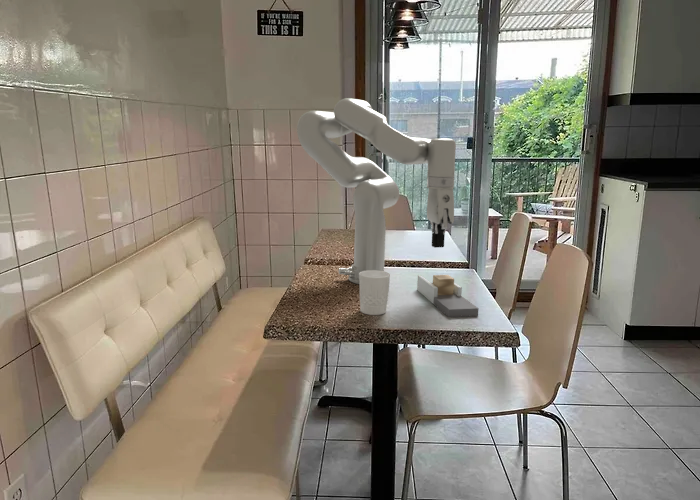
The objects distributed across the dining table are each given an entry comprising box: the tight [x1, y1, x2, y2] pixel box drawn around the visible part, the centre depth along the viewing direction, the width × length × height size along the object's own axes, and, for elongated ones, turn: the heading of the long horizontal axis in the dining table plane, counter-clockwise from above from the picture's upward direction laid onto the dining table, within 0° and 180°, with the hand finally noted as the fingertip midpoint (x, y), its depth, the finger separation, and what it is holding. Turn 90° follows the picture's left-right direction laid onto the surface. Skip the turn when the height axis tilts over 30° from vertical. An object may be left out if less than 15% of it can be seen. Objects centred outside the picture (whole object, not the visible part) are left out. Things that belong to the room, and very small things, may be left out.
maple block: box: [432, 274, 455, 295], centre depth 151 cm, size 4×4×4 cm
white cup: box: [358, 270, 391, 316], centre depth 138 cm, size 8×8×10 cm
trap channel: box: [416, 274, 479, 318], centre depth 149 cm, size 8×25×4 cm, turn 12°
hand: (437, 246), depth 155 cm, fingers closed
